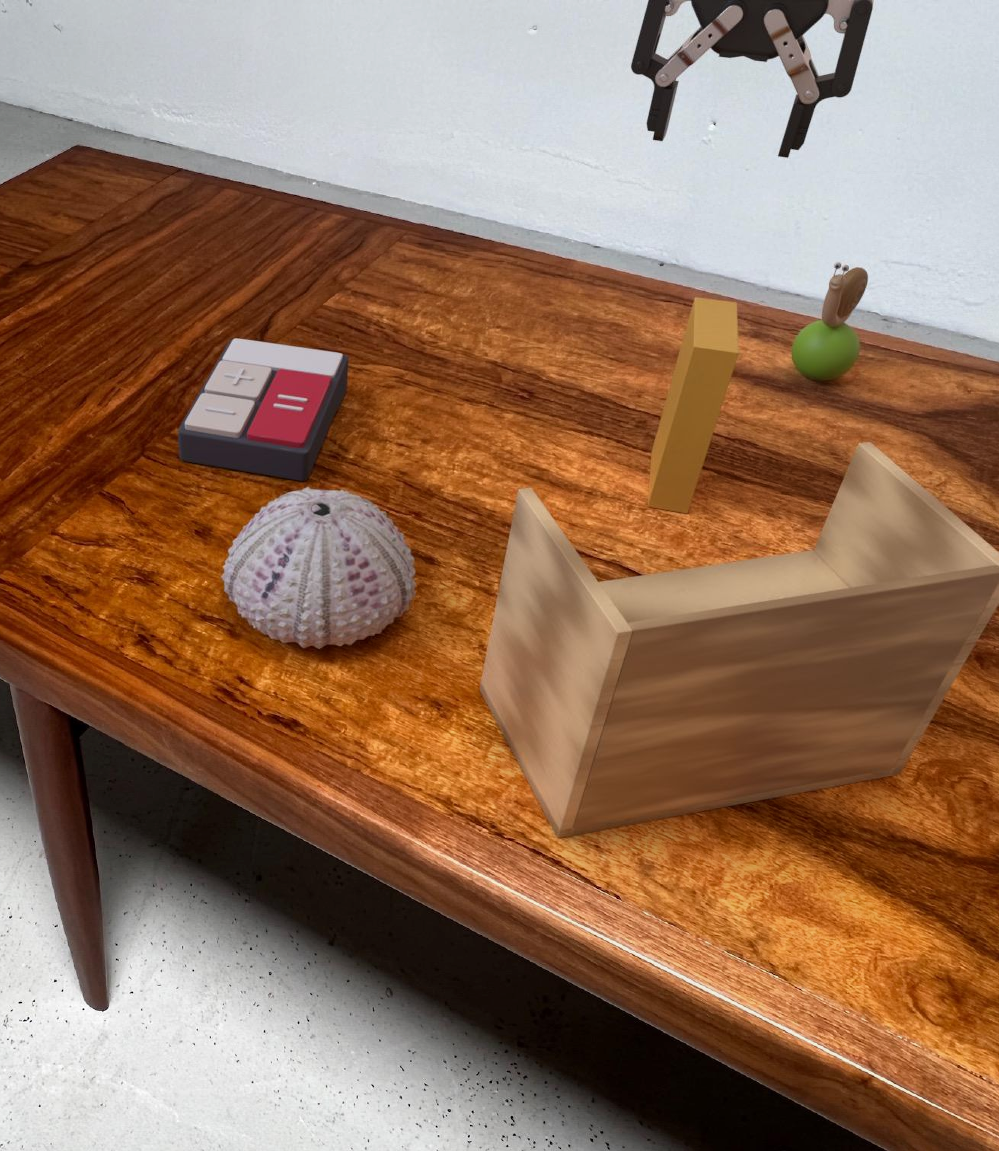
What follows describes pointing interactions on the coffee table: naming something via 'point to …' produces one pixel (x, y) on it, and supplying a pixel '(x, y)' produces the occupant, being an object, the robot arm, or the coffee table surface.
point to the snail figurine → (832, 330)
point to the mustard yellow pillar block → (693, 403)
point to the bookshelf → (734, 658)
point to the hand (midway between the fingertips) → (720, 145)
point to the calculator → (265, 409)
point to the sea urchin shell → (320, 569)
